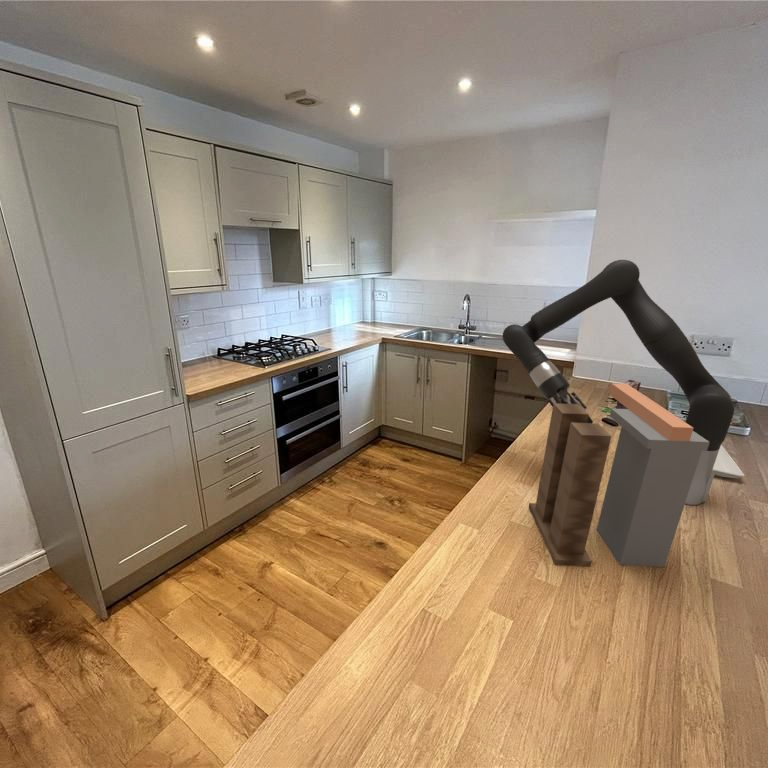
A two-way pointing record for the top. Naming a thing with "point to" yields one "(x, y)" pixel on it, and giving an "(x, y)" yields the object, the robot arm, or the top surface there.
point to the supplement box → (633, 384)
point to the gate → (570, 483)
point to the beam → (651, 413)
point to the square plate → (726, 465)
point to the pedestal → (646, 491)
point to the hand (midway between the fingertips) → (584, 426)
